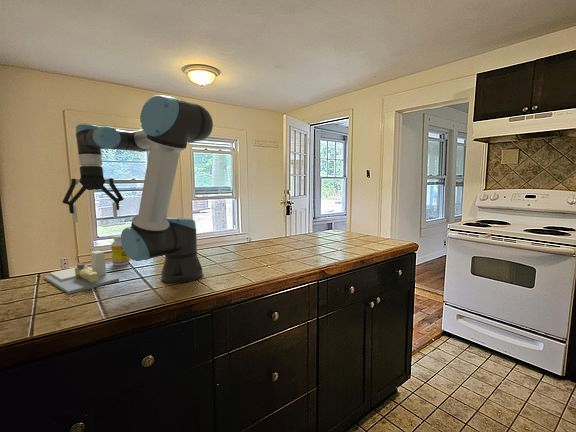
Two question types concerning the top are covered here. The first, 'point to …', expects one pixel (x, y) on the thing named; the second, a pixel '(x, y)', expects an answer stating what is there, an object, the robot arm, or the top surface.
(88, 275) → the bar
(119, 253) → the supplement bottle
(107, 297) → the top surface
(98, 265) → the mounted latch plate
